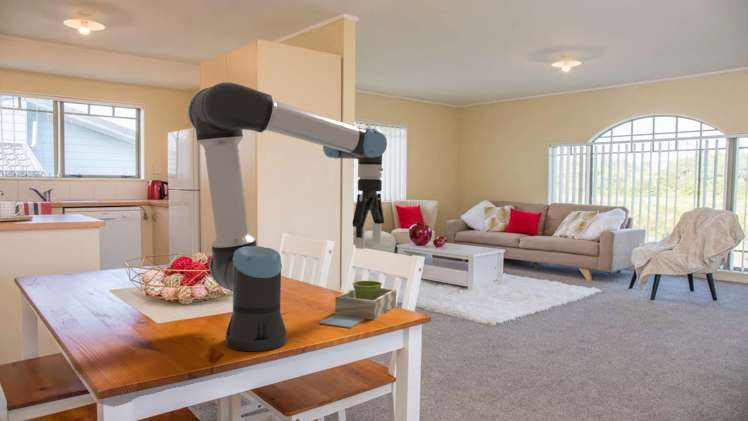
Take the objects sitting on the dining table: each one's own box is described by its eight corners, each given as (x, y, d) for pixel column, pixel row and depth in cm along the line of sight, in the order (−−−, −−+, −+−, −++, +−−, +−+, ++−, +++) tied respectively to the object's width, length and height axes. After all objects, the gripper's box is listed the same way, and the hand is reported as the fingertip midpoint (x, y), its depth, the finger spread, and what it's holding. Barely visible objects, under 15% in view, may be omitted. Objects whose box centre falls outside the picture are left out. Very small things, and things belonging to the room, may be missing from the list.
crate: (374, 319, 156) (375, 301, 156) (335, 314, 161) (335, 296, 161) (395, 306, 174) (396, 289, 174) (359, 301, 179) (360, 285, 179)
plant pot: (355, 314, 162) (356, 286, 161) (349, 307, 171) (349, 280, 170) (385, 313, 164) (385, 285, 164) (376, 306, 173) (377, 280, 173)
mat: (350, 328, 147) (350, 326, 147) (318, 323, 150) (318, 322, 150) (364, 319, 156) (364, 318, 156) (334, 315, 160) (334, 314, 160)
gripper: (365, 178, 152) (364, 251, 154) (394, 179, 175) (393, 242, 177) (341, 178, 155) (340, 249, 156) (373, 178, 178) (372, 241, 180)
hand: (368, 245), depth 167 cm, fingers open, 13 cm apart
